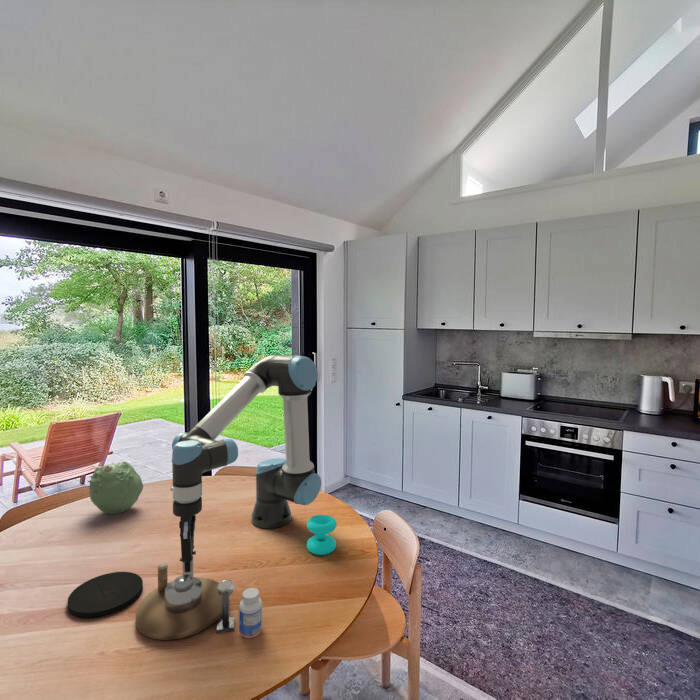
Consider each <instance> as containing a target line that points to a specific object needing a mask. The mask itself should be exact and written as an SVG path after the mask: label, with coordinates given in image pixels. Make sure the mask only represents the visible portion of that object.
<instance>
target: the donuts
mask: <svg viewBox="0 0 700 700" xmlns="http://www.w3.org/2000/svg"><path fill="white" fill-rule="evenodd" d="M337 524H338V523H337V520H336V519H335V518H334V517H333V516H331V515H329V514H318V515H313V516H312V517H310V518H309V519H308V520H307V523H306V527H307V529H308V531H310V532H311V533H312V534H313V535H312V536H311V537H309V538H308V540H307V542H306V548H307V550H308V551H309V553H311V554H314V555H318V556H322V555H323V556H325V555H328V554H331V553H333V552H334V551H335V549H336V548H337V541H336V539H335V538H334V537H333V536H332V535H330V534H331V533H332V532H334V531H335V530H336V528H337Z"/></svg>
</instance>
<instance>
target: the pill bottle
mask: <svg viewBox="0 0 700 700" xmlns="http://www.w3.org/2000/svg"><path fill="white" fill-rule="evenodd" d="M241 595H242V596H241V600H240V603H239V607H238V608H239V609H238V611H239V615H238V616H239V619H238V623H239V624H238V625H239V626H238V627H239V634H240V636H241V637H242V638H243V637H244V638H247V639H250V638H254V637H255V638H256V636H258V635H259V634H260V633H261V632H262V629H263V618H262V617H263V615H262V614H263V611H262V610H263V601H262V599H261V598H260V591H259V589H257V588H256V587H255V588H254V587H249V588H246V589H245V590H244V591H243V592H242V594H241Z"/></svg>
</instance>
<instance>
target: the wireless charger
mask: <svg viewBox="0 0 700 700" xmlns="http://www.w3.org/2000/svg"><path fill="white" fill-rule="evenodd" d="M143 582H144V581H143V579H142V577H141V576H140V575H139V574H137V573H135V572H130V571H115V572H109V573H105V574H100V575H98V576H95V577H93V578H91V579H89V580H87V581H84V582H83V583H81V584H80V585H78V586H77V587H75V588H74V590H72V591H71V593H70V594H69V595H68V598H67V612H68V613H69V615H70V616H72V617H74V618H76V619H82V620H95V619H100V618H105V617H108V616H111V615H114V614H118V613H119V612H121V611H123V610H125V609H126V608H129V607H130V606H131V605H132V604H134V603H135V602H136V601H137V600H138V599H140V597H141V596H142V593H143V590H144V588H143V587H144V585H143Z"/></svg>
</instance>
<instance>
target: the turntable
mask: <svg viewBox="0 0 700 700" xmlns="http://www.w3.org/2000/svg"><path fill="white" fill-rule="evenodd" d="M168 565H169V564H168V563H167V562H161V563H159V564H158V565H157V587H156V588H155V589H153V590H152V591H150V592H149V593H148V594H147V595H145V596H144V598H142V600H141V601H140V603H138V605H137V608H136V611H135V626H136V628H137V630H138V631H139V633H141V634H142V635H144V636H146V637H148V638H151V639H154V640H163V641H165V640H166V641H167V640H169V641H171V640H178V639H183V638H188V637H189V636H193V635H196V634H199V633H201V632H202V631H203V630H206V629H208V628H209V627H211V626H212V625H213V624H214V623H216V622H217V621H218V619H219V618H221V617H222V596H220V595H219V594H218V592H217V587H218V584H219V583H220V582H219V581H217V580H214V579H211V578H207V577H196V578H198V579H200V580H201V582H202V601H201V603H200V604H199V605H198V606H197V607H196V608H194V609H193V610H190V611H188V612H184V613H171V612H169V611H167V610H166V608H165V588H166V587H167V585H168V584H170V583H171V582H172V581H170V582H168Z"/></svg>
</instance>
